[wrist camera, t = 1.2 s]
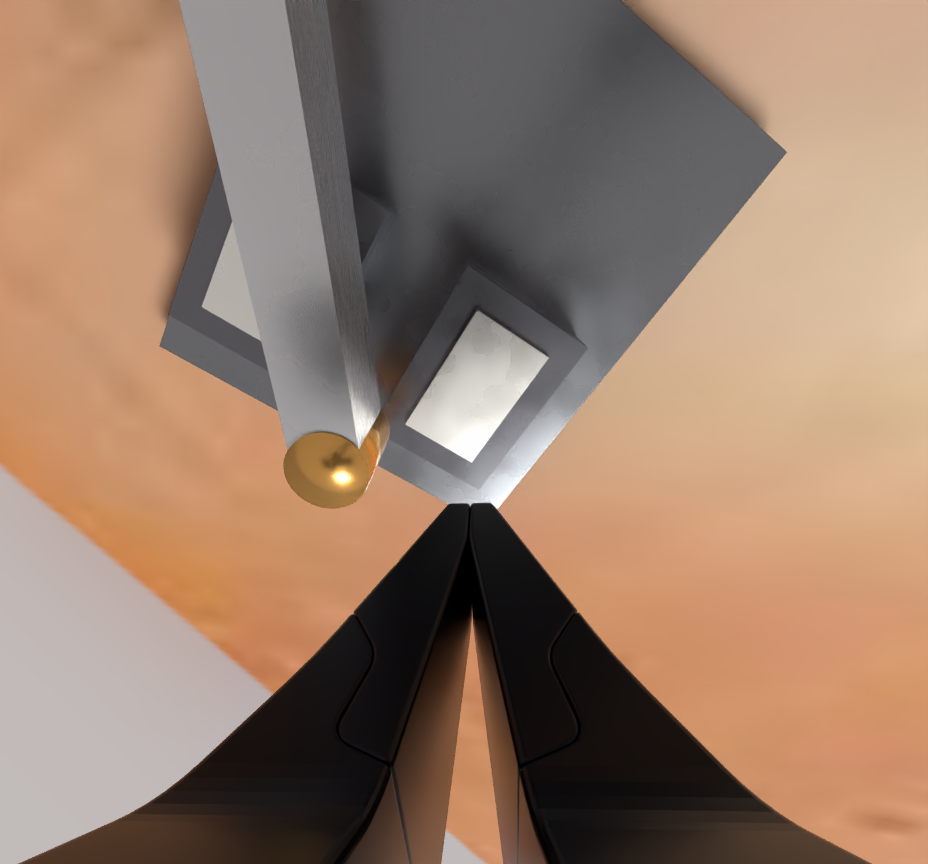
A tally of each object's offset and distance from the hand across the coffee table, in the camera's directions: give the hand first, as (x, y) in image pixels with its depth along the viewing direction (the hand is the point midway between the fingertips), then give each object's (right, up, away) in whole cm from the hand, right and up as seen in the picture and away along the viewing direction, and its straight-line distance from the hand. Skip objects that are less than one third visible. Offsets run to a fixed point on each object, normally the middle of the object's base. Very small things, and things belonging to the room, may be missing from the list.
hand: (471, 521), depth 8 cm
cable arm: (-4, +9, +3) cm, 10 cm away
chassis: (-1, +9, +8) cm, 12 cm away
